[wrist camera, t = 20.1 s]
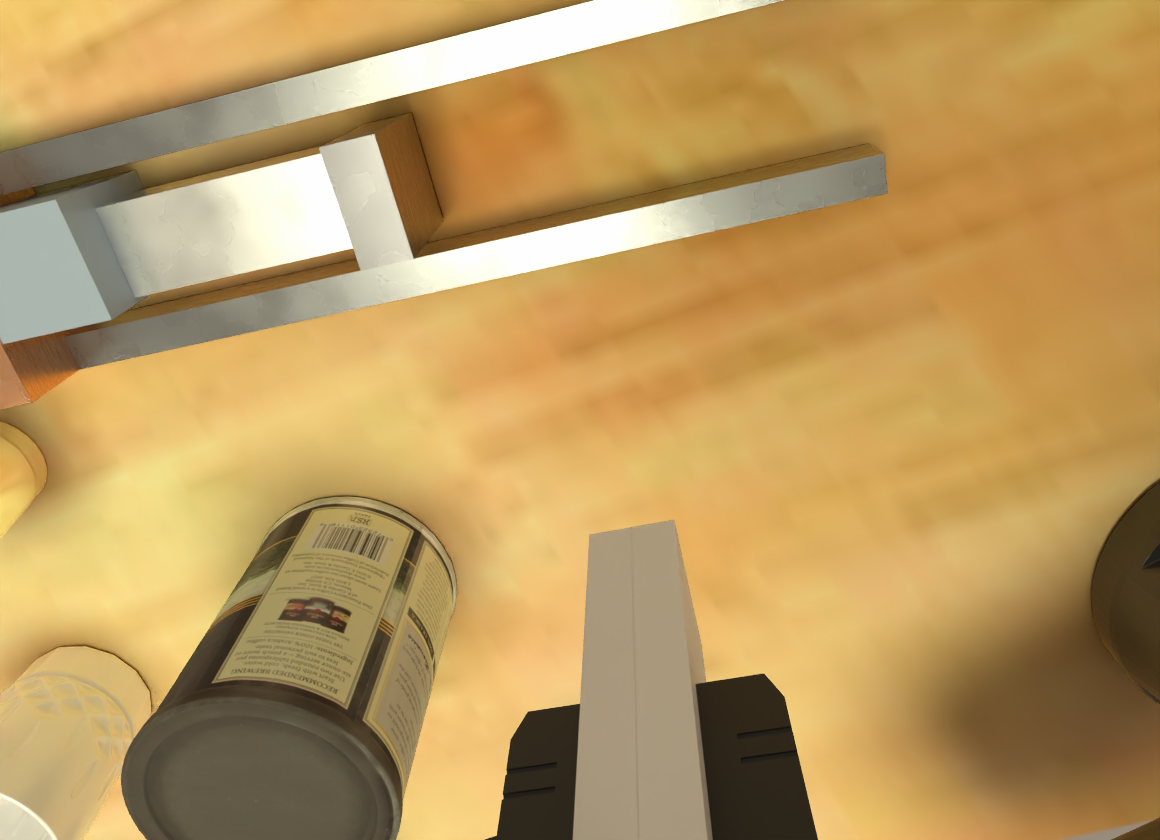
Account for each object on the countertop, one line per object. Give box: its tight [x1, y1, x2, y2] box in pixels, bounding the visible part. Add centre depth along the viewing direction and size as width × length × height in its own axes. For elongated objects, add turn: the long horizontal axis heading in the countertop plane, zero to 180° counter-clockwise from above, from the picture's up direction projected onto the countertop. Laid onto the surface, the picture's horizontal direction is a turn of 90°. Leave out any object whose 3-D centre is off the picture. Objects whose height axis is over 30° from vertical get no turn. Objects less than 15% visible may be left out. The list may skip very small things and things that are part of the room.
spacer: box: [0, 170, 151, 344], centre depth 36 cm, size 5×5×6 cm
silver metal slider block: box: [95, 113, 443, 298], centre depth 35 cm, size 12×4×6 cm, turn 103°
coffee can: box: [121, 497, 457, 840], centre depth 40 cm, size 10×10×14 cm
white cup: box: [0, 646, 151, 840], centre depth 45 cm, size 8×8×10 cm
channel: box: [0, 0, 888, 409], centre depth 35 cm, size 38×9×6 cm, turn 103°
